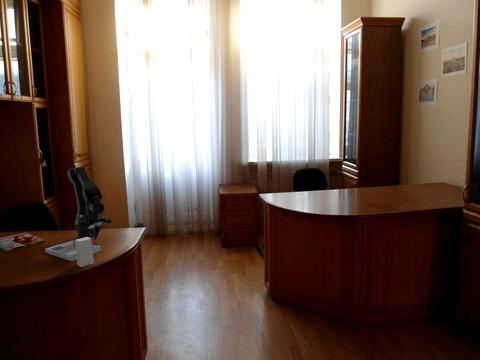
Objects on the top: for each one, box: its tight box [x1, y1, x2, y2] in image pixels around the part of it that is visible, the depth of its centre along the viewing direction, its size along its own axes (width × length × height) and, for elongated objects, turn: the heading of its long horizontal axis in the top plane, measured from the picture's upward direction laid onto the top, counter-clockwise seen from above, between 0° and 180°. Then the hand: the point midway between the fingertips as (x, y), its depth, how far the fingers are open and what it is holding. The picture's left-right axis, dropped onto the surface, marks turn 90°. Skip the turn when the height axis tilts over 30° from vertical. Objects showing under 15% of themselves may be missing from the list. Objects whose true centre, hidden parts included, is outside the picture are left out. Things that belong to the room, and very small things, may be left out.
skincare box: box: [74, 237, 94, 268], centre depth 180 cm, size 6×4×12 cm
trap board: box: [44, 239, 102, 262], centre depth 198 cm, size 16×22×3 cm
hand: (95, 239), depth 208 cm, fingers closed
